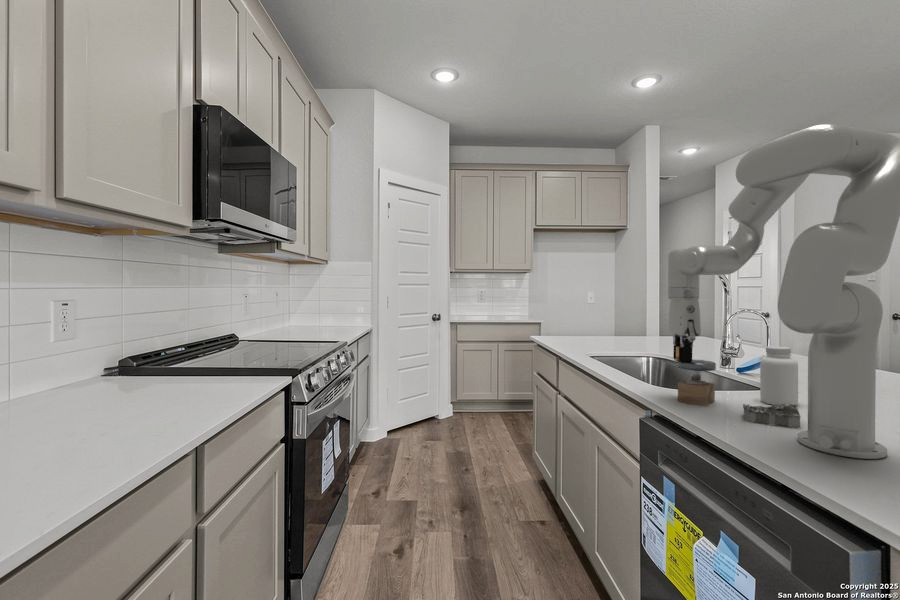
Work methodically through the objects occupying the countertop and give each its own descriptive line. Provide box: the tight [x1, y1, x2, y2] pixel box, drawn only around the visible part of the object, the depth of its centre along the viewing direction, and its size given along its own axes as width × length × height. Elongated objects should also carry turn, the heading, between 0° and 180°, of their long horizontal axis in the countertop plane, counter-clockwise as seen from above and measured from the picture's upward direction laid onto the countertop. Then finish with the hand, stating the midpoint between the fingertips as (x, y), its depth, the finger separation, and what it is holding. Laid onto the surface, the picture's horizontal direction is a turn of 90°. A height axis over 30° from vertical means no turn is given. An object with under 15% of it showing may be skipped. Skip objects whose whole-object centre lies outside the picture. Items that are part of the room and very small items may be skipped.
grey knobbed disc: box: [673, 346, 717, 381], centre depth 115 cm, size 10×9×9 cm
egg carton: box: [742, 403, 802, 428], centre depth 97 cm, size 11×8×4 cm
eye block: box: [677, 379, 716, 407], centre depth 115 cm, size 7×7×6 cm
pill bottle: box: [759, 345, 799, 407], centre depth 112 cm, size 8×8×15 cm
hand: (682, 360), depth 116 cm, fingers open, 3 cm apart
